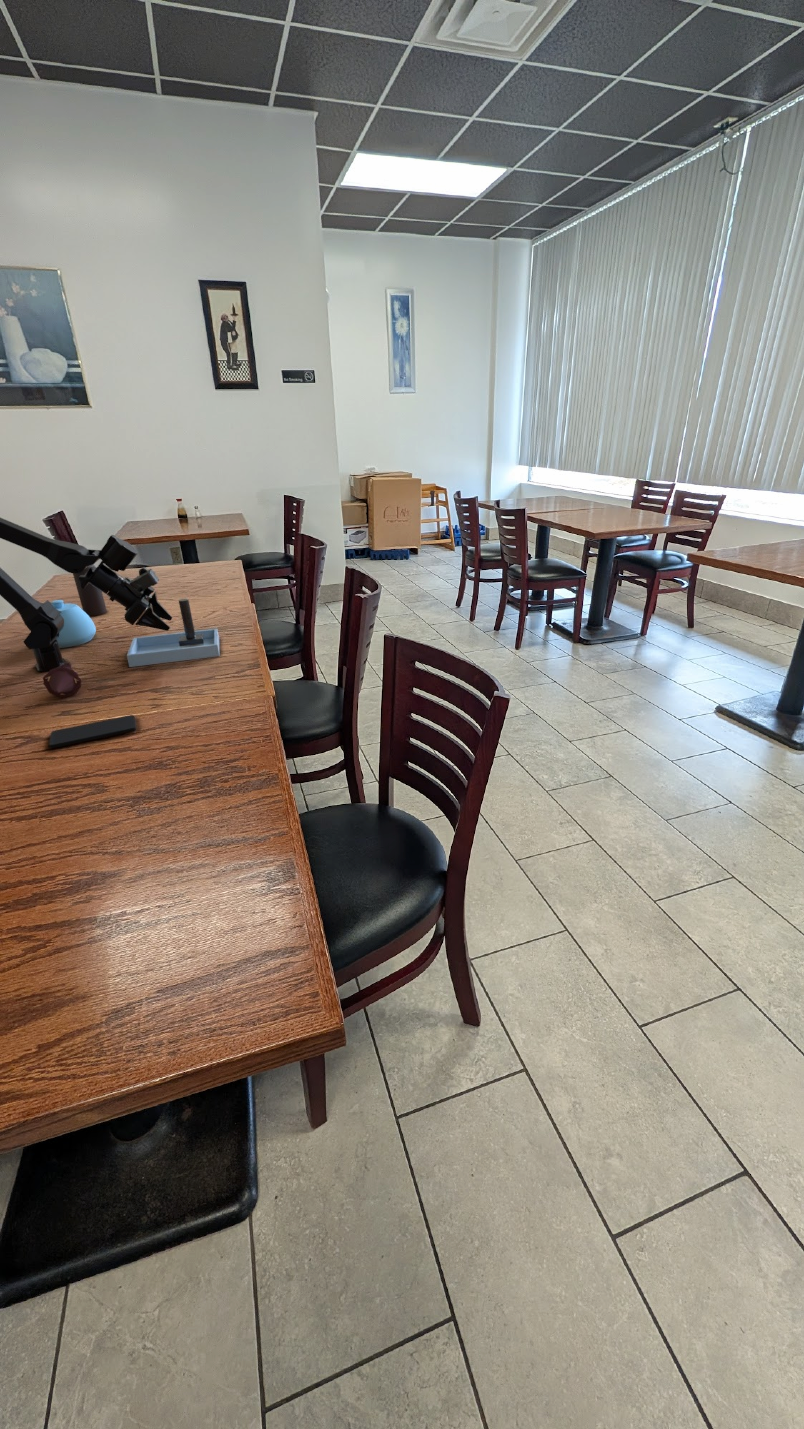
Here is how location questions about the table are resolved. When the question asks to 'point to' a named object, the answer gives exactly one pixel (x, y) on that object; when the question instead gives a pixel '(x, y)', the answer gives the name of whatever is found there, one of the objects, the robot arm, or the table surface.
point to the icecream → (62, 681)
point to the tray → (171, 648)
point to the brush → (189, 627)
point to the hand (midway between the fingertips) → (170, 624)
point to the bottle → (90, 596)
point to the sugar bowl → (74, 625)
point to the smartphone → (92, 731)
